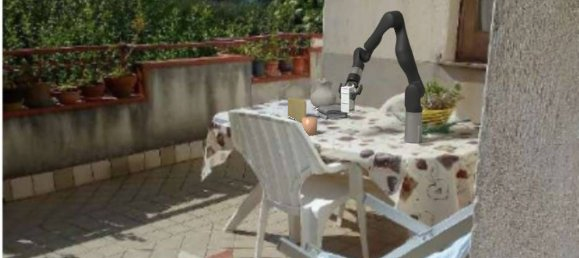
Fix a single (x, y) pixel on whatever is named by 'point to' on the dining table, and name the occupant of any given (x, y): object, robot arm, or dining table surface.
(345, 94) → the syrup box
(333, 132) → the dining table surface
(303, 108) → the cheese
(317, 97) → the ceramic pitcher
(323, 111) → the towel
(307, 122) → the peach rounded cylinder
